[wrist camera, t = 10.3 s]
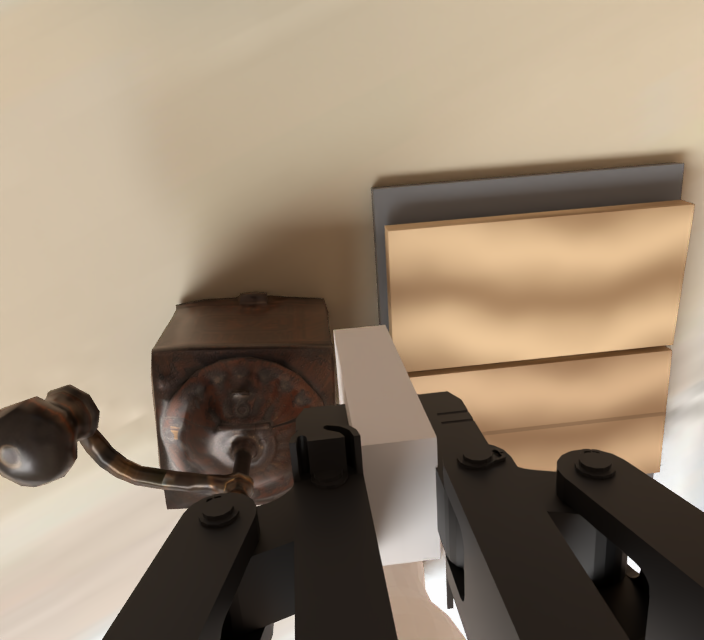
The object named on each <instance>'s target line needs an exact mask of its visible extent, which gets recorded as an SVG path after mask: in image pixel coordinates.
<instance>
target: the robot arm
mask: <svg viewBox="0 0 704 640" xmlns="http://www.w3.org/2000/svg"><path fill="white" fill-rule="evenodd" d="M333 332H334V344H335V355H336V367H337V378H338V389H339V401H340V404H339V405H330V406H320V407H311V408H304V409H303V410H302V412H301V413H300V414H299V415H298V417H297V418H296V433H295V434H294V435H293V436H292V437H291V439H290V442H289V448H290V457H291V465H292V473H293V482H294V485H293V486H292V488H291V489H290V490H289V491H288V492H287V493H286V494H285V495H283V496H281V497H280V498H278V499H276V500H274V501H271V502H269V503H267V504H264V505H261V506H258V507H257V506H256V505H255V503H254V501H253V499H251V498H249V497H247V496H246V495H244V494H238V493H232V492H230V493H219V494H214V495H212V496H208V497H205V498H203V499H201V500H199V501H198V502H196V503H194V504H193V505H191V506H190V507H189V508H188V509H187V510H186V511H185V512H184V514H183V515H182V517H181V518H180V520H179V521H178V523H177V524H176V526H175V527H174V529H173V530H172V532H171V534H170V535H169V537H168V538H167V540H166V541H165V543H164V544H163V546H162V548H161V549H160V551H159V552H158V554H157V555H156V557H155V558H154V560H153V561H152V563H151V565H150V566H149V568H148V569H147V571H146V572H145V574H144V575H143V577H142V578H141V580H140V582H139V583H138V585H137V586H136V588H135V589H134V591H133V592H132V594H131V596H130V597H129V599H128V600H127V602H126V603H125V605H124V606H123V608H122V609H121V611H120V613H119V614H118V616H117V617H116V619H115V620H114V622H113V623H112V625H111V626H110V628H109V630H108V631H107V633H106V634H105V636H104V637H103V639H102V640H271V638H272V635H273V626H274V622H277V621H279V620H282V619H284V618H287V617H289V616H292V615H294V614H295V640H398V638H397V633H396V628H395V623H394V619H393V614H392V609H391V604H390V599H389V595H388V590H387V585H386V580H385V575H384V571H383V566H386V565H394V564H402V563H410V562H417V561H425V560H433V559H441V552H440V539H441V541H442V544H443V547H444V550H445V553H446V582H447V608H448V609H450V608H453V598H454V600H455V603H456V606H457V609H458V612H459V615H460V618H461V621H462V624H463V627H464V630H465V633H466V636H467V639H468V640H704V512H702V511H701V510H699V509H698V508H696V507H695V506H693V505H692V504H690V503H689V502H687V501H686V500H684V499H683V498H681V497H680V496H678V495H677V494H675V493H674V492H672V491H671V490H669V489H668V488H666V487H665V486H663V485H662V484H660V483H659V482H657V481H656V480H654V479H653V478H651V477H650V476H648V475H647V474H645V473H644V472H642V471H641V470H639V469H638V468H636V467H635V466H633V465H632V464H630V463H629V462H627V461H626V460H624V459H622V458H620V457H618V456H616V455H614V454H612V453H608V452H604V451H601V450H597V449H592V450H591V449H581V450H573V451H570V452H567V453H565V454H563V455H561V457H560V458H559V459H558V461H557V469H556V471H543V470H532V469H525V468H521V467H518V466H517V465H516V463H515V462H514V460H513V459H512V457H511V456H510V455H509V454H508V453H507V452H506V451H505V450H503V449H501V448H499V447H496V446H494V445H490V444H488V442H487V441H486V439H485V437H484V436H483V434H482V432H481V431H480V429H479V427H478V426H477V424H476V423H475V421H473V418H472V416H471V414H470V413H469V412H468V409H467V408H466V406H465V404H464V403H463V401H462V400H461V399H460V398H458V397H456V396H455V395H453V394H451V393H450V392H448V391H445V392H435V393H426V394H417V393H416V391H415V389H414V387H413V384H412V382H411V380H410V378H409V376H408V373H407V371H406V369H405V367H404V365H403V363H402V360H401V358H400V356H399V354H398V352H397V349H396V347H395V345H394V343H393V341H392V339H391V336H390V334H389V332H388V330H387V328H386V325H377V326H367V327H357V328H347V329H337V330H333ZM627 556H629V557H630V558H631V559H632V560H633V561H634V562H635V563H636V564H637V565H638V566H639V567H640V568H641V571H640V574H639V573H638V572H636V571H635V570H633V569H632V568H631V567H630V566H629V565H628V564H627Z"/></svg>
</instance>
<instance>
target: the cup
mask: <svg viewBox="0 0 704 640" xmlns="http://www.w3.org/2000/svg"><path fill="white" fill-rule="evenodd" d="M383 571H384V575H385V580H386V585H387V590H388V595H389V599H390V604H391V609H392V614H393V619H394V623H395V628H396V633H397V638H398V640H466V639H465V638H464V636H463V635H462V633H461V632H460V631H459V629H458V628H457V627H456V625H455V624H454V623H453V621H452V620H451V619H450V618H449V616H448V615H447V614H446V613H444V612H443V611H442V610H441V609H440V608H438V607H437V606H436V605H435V604H433V603H432V602H431V600H430V598H429V596H428V594H427V592H426V590H425V577H424V568H423V561H417V562H410V563H402V564H394V565H386V566H383Z"/></svg>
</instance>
